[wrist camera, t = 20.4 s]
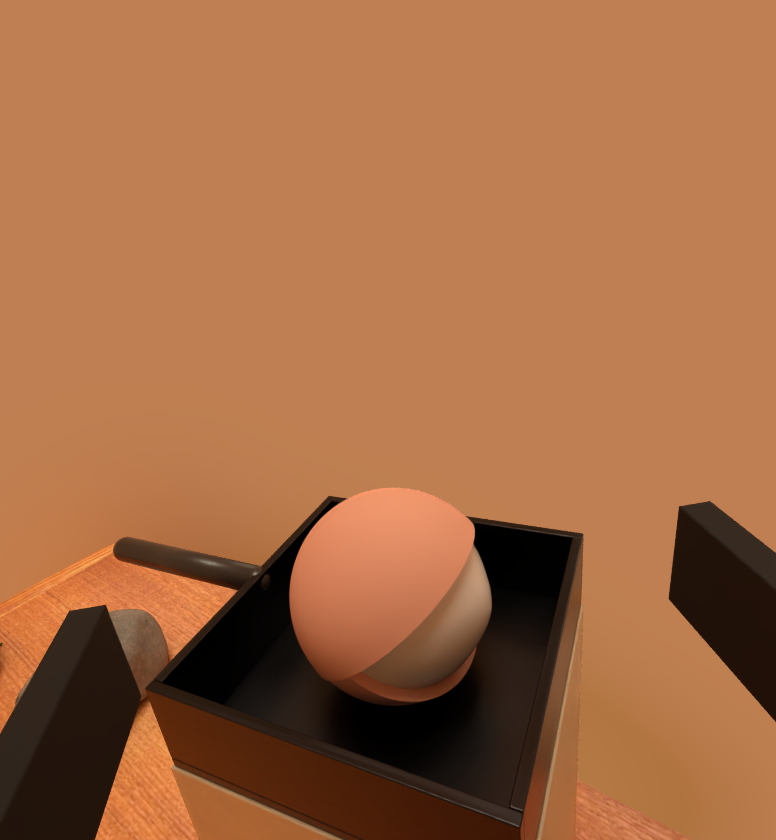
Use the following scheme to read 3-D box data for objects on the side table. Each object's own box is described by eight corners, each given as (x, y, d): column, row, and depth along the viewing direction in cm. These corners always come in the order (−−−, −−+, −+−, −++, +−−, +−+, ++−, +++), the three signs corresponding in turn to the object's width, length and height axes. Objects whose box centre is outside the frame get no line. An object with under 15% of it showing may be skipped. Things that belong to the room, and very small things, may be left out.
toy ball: (469, 787, 18) (453, 597, 15) (270, 725, 21) (223, 555, 18) (514, 616, 25) (509, 459, 22) (357, 587, 28) (334, 445, 25)
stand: (574, 853, 34) (583, 604, 26) (531, 1184, 23) (525, 924, 15) (378, 779, 39) (338, 555, 31) (269, 1019, 28) (170, 767, 21)
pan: (581, 605, 26) (583, 531, 24) (522, 918, 15) (520, 826, 14) (217, 532, 35) (201, 475, 33) (24, 700, 24) (-13, 628, 23)
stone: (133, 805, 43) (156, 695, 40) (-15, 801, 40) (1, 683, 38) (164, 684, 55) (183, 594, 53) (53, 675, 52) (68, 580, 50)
